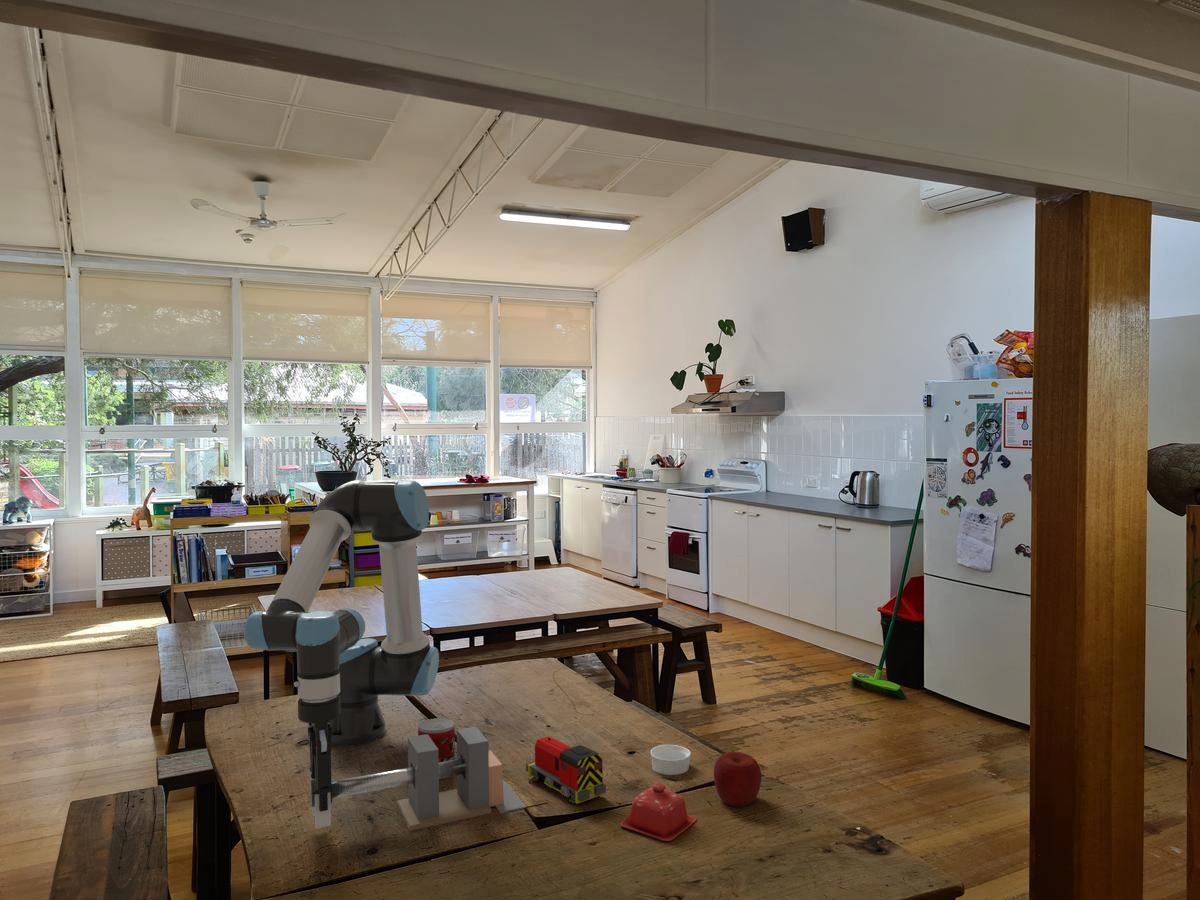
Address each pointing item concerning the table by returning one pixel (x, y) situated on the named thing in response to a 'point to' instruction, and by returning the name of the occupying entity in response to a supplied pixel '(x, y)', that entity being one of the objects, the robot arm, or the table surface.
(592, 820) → the table surface
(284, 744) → the table surface
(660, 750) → the ramekin
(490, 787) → the block
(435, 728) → the canned food
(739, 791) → the apple
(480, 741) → the bearing frame
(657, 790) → the butter dish
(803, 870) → the table surface
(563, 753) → the toy train
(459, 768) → the shaft
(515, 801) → the mat
